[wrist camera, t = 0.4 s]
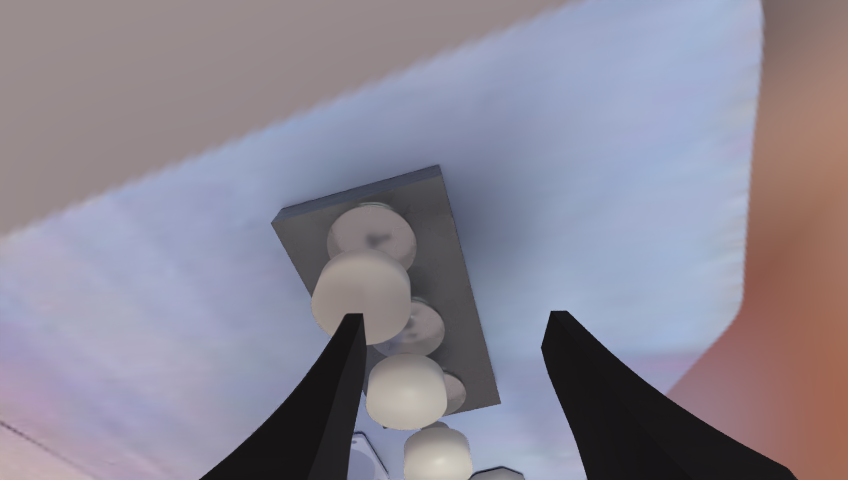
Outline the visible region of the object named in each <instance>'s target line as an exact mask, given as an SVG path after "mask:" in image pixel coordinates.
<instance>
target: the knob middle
mask: <svg viewBox="0 0 848 480" xmlns="http://www.w3.org/2000/svg"><path fill="white" fill-rule="evenodd" d="M446 408H447V396H446V387H445V379H444V373H443V371H442V369H441V367H440V366H439V365H438V364H437V363H436V362H435V361H433V360H432V359H430V358H428V357H426V356H422V355H418V354H414V353H408V352H406V353H400V354H397V355H393V356H390V357H387V358H385V359H383V360H381V361H380V362H379V363H377V364H376V365H375V366H374V367H373V369H372V370H371V372H370V375H369V381H368V390H367V399H366V409H367V412H368V414H369V415H370V417H371V418H372V419H373V420H374V421H375V422H377V423H379V424H380V425H382V426H385V427H387V428H391V429H396V430H414V429H419V428H423V427H426V426H428V425H430V424H432V423H434V422H436V421H437V420H438V419H439V418H440V417H441V416H442V415H443V414H444V412H445V410H446Z"/></svg>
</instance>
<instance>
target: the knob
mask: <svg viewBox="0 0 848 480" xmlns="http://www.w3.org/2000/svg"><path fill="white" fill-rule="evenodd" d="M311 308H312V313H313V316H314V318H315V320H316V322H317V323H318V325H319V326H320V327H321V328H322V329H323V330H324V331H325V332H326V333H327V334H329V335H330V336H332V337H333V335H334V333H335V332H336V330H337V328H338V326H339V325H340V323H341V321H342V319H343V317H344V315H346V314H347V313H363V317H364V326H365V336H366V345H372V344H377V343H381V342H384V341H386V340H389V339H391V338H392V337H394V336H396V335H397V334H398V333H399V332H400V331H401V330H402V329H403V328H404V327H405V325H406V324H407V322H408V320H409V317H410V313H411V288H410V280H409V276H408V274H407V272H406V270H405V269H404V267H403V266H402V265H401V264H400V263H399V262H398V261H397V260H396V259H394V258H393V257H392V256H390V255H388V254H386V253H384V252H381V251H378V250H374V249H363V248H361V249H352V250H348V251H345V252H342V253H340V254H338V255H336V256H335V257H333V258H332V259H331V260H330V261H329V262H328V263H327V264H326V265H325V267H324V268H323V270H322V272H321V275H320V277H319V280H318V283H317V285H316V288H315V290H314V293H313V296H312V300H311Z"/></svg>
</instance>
